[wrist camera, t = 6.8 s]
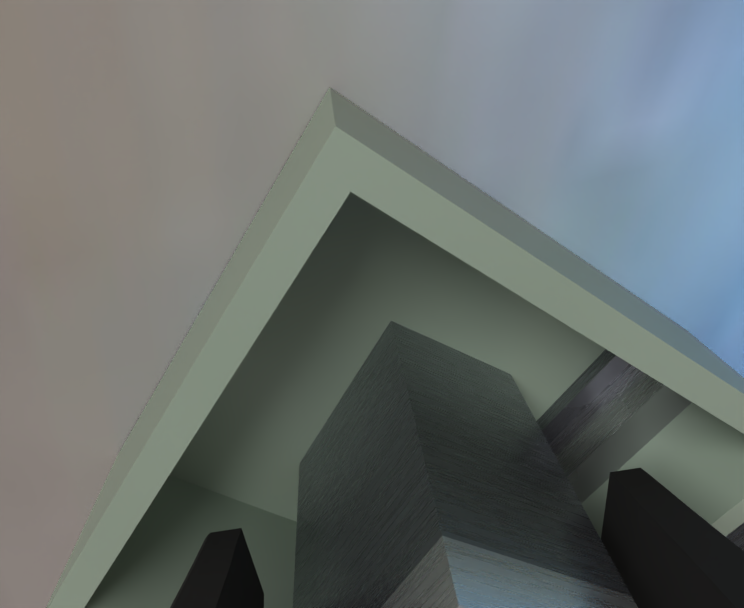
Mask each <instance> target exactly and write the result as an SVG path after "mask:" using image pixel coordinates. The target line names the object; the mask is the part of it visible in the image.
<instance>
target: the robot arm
mask: <svg viewBox="0 0 744 608" xmlns="http://www.w3.org/2000/svg"><path fill="white" fill-rule="evenodd" d="M601 541H602V543H603V544H604V546H605V548H606V550H607V552H608V554H609V555H610V557H611V559H612V561H613V563H614V565H615V566H616V568H617V570H618V572H619V574H620V576H621V577H622V579H623V581H624V583H625V585H626V587H627V588H628V590H629V592H630V594H631V596H632V598H633V600H634V601H635V603H636V605H637V607H638V608H744V551H743V550H742V549H741V548H739V547H738V546H737V545H736V544H734V543H733V542H732V541H730V540H729V539H728V538H727V537H725V536H724V535H723V534H722V533H720V532H719V531H718V530H717V529H715V528H714V527H713V526H712V525H710V524H709V523H708V522H707V521H706V520H704V519H703V518H702V517H701V516H699V515H698V514H697V513H696V512H694V511H693V510H692V509H691V508H690V507H688V506H687V505H686V504H685V503H683V502H682V501H681V500H680V499H679V498H677V497H676V496H675V495H674V494H673V493H671V492H670V491H669V490H668V489H667V488H665V487H664V486H663V485H662V484H660V483H659V482H658V481H657V480H656V479H654V478H653V477H652V476H651V475H649V474H648V473H647V472H646V471H644V470H643V469H642V468H634V469H628V470H621V471H614V472H610V475H609V483H608V490H607V497H606V505H605V512H604V519H603V527H602V534H601ZM170 608H264V592H263V589H262V586H261V583H260V580H259V577H258V575H257V572H256V569H255V566H254V563H253V560H252V557H251V554H250V551H249V548H248V546H247V543H246V540H245V537H244V534H243V531H242V528H237V529H231V530H224V531H218V532H211V533H209V534H208V535H207V537H206V538H205V540H204V542H203V544H202V546H201V548H200V550H199V552H198V554H197V556H196V558H195V560H194V562H193V564H192V566H191V568H190V570H189V572H188V574H187V576H186V578H185V580H184V582H183V584H182V586H181V588H180V590H179V591H178V593H177V595H176V597H175V599H174V601H173V603H172V605H171V606H170Z"/></svg>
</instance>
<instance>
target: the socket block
mask: <svg viewBox="0 0 744 608" xmlns="http://www.w3.org/2000/svg"><path fill="white" fill-rule="evenodd" d="M691 403H692V402H691V401H689V400H688V399H686V398H684V397H683V396H681V395H680V394H678V393H676V392H675V391H673V390H672V389H670V388H668V387H667V386H665V385H663V384H662V383H660V382H659V381H657V380H655V379H654V378H652V377H650V376H649V375H647V374H646V373H644V372H642V371H641V370H639V369H637V368H636V367H634V366H633V365H631V364H629V363H628V362H626V361H624V360H623V359H621V358H620V357H618V356H616V355H615V354H613V353H611V352H610V351H608V350H607V349H605V350H604V351H603V352H602V353H601V354H600V356H599V357H598V358H597V359H596V360H595V361H594V362H593V363H592V364H591V365H590V366H589V367H588V368H587V369H586V370H585V371H584V372H583V373H582V374H581V375H580V376H579V377H578V378H577V379H576V380H575V382H574V383H573V384H572V385H571V386H570V387H569V388H568V389H567V390H566V391H565V392H564V393H563V394H562V395H561V396H560V397H559V398H558V399H557V400H556V401H555V402H554V403H553V404H552V405H551V406H550V407H549V409H548V410H547V411H546V412H545V413H544V414H543V415H542V416H541V417H540V418H539V419H538V420H537V423H538V425H539V427H540V429H541V431H542V432H543V434H544V436H545V438H546V440H547V442H548V443H549V445H550V447H551V449H552V451H553V453H554V454H555V456H556V458H557V460H558V462H559V464H560V465H561V467H562V469H563V471H564V473H565V475H566V476H567V478H568V480H569V482H570V484H571V486H572V487H573V489H574V491H575V493H576V495H577V497H578V499H579V500H580V502H581V503H582V502H584V501H585V500H586V499H587V498H588V497H589V496H590V495H591V494H592V493H593V492H595V491H596V490H597V489H598V488H599V487H600V486H601V485H602V484H603V483H604V482H605V481H607V480H608V479H609V475H610V472H614V471H617V470H619V469H620V468H621V467H622V466H623V465H624V464H625V463H626V462H627V461H628V460H629V459H631V458H632V457H633V456H634V455H635V454H636V453H637V452H638V451H639V450H640V449H642V448H643V447H644V446H645V445H646V444H647V443H648V442H649V441H650V440H651V439H652V438H654V437H655V436H656V435H657V434H658V433H659V432H660V431H661V430H662V429H663V428H664V427H666V426H667V425H668V424H669V423H670V422H671V421H672V420H673V419H674V418H675V417H676V416H678V415H679V414H680V413H681V412H682V411H683V410H684V409H685V408H686V407H687V406H689V405H690V404H691ZM726 537H727V538H728V539H729V540H730V541H732V542H733V543H734V544H736V545H737V546H738V547H739V548H741V549H742V550H743V551H744V523H742V524H741V525H740V526H739V527H737V528H736V529H735V530H733V531H732V532H731V533H730V534H728V535H727V536H726Z"/></svg>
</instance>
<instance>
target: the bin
mask: <svg viewBox="0 0 744 608" xmlns="http://www.w3.org/2000/svg"><path fill="white" fill-rule="evenodd" d="M390 321H393V322H396V323H398V324H400V325H402V326H404V327H407V328H409V329H411V330H413V331H416V332H418V333H420V334H422V335H424V336H427V337H429V338H431V339H433V340H436V341H438V342H440V343H442V344H445V345H447V346H449V347H451V348H453V349H456V350H458V351H460V352H462V353H465V354H467V355H469V356H471V357H473V358H476V359H478V360H480V361H482V362H485V363H487V364H489V365H491V366H494V367H496V368H498V369H500V370H502V371H505V372H507V373H509V374H511V375H512V377H513V379H514V381H515V383H516V385H517V386H518V388H519V390H520V392H521V394H522V396H523V397H524V399H525V401H526V403H527V405H528V407H529V409H530V410H531V412H532V414H533V416H534V418H535V420H536V421H537V420H538V419H539V418H540V417H541V416H542V415H543V414H544V413H545V412H546V411H547V410H548V409H549V407H550V406H551V405H552V404H553V403H554V402H555V401H556V400H557V399H558V398H559V397H560V396H561V395H562V394H563V393H564V392H565V391H566V390H567V389H568V388H569V387H570V386H571V385H572V384H573V383H574V382H575V380H576V379H577V378H578V377H579V376H580V375H581V374H582V373H583V372H584V371H585V370H586V369H587V368H588V367H589V366H590V365H591V364H592V363H593V362H594V361H595V360H596V359H597V358H598V357H599V356H600V354H601V353H602V352H603V351H604V350H605V349H607V350H608V351H610V352H611V353H613V354H615V355H616V356H618V357H620V358H621V359H623V360H624V361H626V362H628V363H629V364H631V365H633V366H634V367H636V368H637V369H639V370H641V371H642V372H644V373H646V374H647V375H649V376H650V377H652V378H654V379H655V380H657V381H659V382H660V383H662V384H663V385H665V386H667V387H668V388H670V389H672V390H673V391H675V392H676V393H678V394H680V395H681V396H683V397H684V398H686V399H688V400H689V401H691V402H692V403H691V404H690V405H689V406H687V407H686V408H685V409H684V410H683V411H682V412H681V413H680V414H679V415H678V416H676V417H675V418H674V419H673V420H672V421H671V422H670V423H669V424H668V425H667V426H666V427H664V428H663V429H662V430H661V431H660V432H659V433H658V434H657V435H656V436H655V437H654V438H652V439H651V440H650V441H649V442H648V443H647V444H646V445H645V446H644V447H643V448H642V449H640V450H639V451H638V452H637V453H636V454H635V455H634V456H633V457H632V458H631V459H629V460H628V461H627V462H626V463H625V464H624V465H623V466H622V467H621V468H620V469H619V470H617V471H621V470H628V469H634V468H642V469H643V470H644V471H646V472H647V473H648V474H649V475H651V476H652V477H653V478H654V479H656V480H657V481H658V482H659V483H660V484H662V485H663V486H664V487H665V488H667V489H668V490H669V491H670V492H671V493H673V494H674V495H675V496H676V497H677V498H679V499H680V500H681V501H682V502H683V503H685V504H686V505H687V506H688V507H690V508H691V509H692V510H693V511H694V512H696V513H697V514H698V515H699V516H701V517H702V518H703V519H704V520H706V521H707V522H708V523H709V524H710V525H712V526H713V527H714V528H715V529H717V530H718V531H719V532H720V533H722V534H723V535H724V536H725V537H726V536H727V535H728V534H730V533H731V532H732V531H733V530H735V529H736V528H737V527H739V526H740V525H741V524H742V523H744V378H743V377H742V376H741V375H740V374H738V373H737V372H736V371H735V370H734V369H732V368H731V367H730V366H729V365H728V364H726V363H725V362H724V361H723V360H722V359H720V358H719V357H718V356H717V355H716V354H714V353H713V352H712V351H711V350H710V349H708V348H707V347H706V346H705V345H704V344H702V343H701V342H700V341H699V340H698V339H696V338H695V337H694V336H693V335H692V334H690V333H689V332H688V331H687V330H685V329H684V328H682V327H681V326H680V325H678V324H677V323H675V322H674V321H672V320H671V319H669V318H668V317H666V316H665V315H663V314H662V313H660V312H659V311H658V310H656V309H655V308H653V307H652V306H650V305H649V304H647V303H646V302H644V301H643V300H641V299H640V298H638V297H637V296H635V295H634V294H633V293H631V292H630V291H628V290H627V289H625V288H624V287H622V286H621V285H619V284H618V283H616V282H615V281H613V280H612V279H611V278H609V277H608V276H606V275H605V274H603V273H602V272H600V271H599V270H597V269H596V268H594V267H593V266H591V265H590V264H589V263H587V262H586V261H584V260H583V259H581V258H580V257H578V256H577V255H575V254H574V253H572V252H571V251H569V250H568V249H567V248H565V247H564V246H562V245H561V244H559V243H558V242H556V241H555V240H553V239H552V238H550V237H549V236H547V235H546V234H545V233H543V232H542V231H540V230H539V229H537V228H536V227H534V226H533V225H531V224H530V223H528V222H527V221H525V220H524V219H522V218H521V217H520V216H518V215H517V214H515V213H514V212H512V211H511V210H509V209H508V208H506V207H505V206H503V205H502V204H500V203H499V202H498V201H496V200H495V199H493V198H492V197H490V196H489V195H487V194H486V193H484V192H483V191H481V190H480V189H478V188H477V187H476V186H474V185H473V184H471V183H470V182H468V181H467V180H465V179H464V178H462V177H461V176H459V175H458V174H456V173H455V172H454V171H452V170H451V169H449V168H448V167H446V166H445V165H443V164H442V163H440V162H439V161H437V160H436V159H434V158H433V157H432V156H430V155H429V154H427V153H426V152H424V151H423V150H421V149H420V148H418V147H417V146H415V145H414V144H412V143H411V142H409V141H408V140H407V139H405V138H404V137H402V136H401V135H399V134H398V133H396V132H395V131H393V130H392V129H390V128H389V127H387V126H386V125H385V124H383V123H382V122H380V121H379V120H377V119H376V118H374V117H373V116H371V115H370V114H368V113H367V112H365V111H364V110H363V109H361V108H360V107H358V106H357V105H355V104H354V103H352V102H351V101H349V100H348V99H346V98H345V97H343V96H342V95H341V94H339V93H338V92H336V91H335V90H333V89H332V88H330V87H329V89H328V91H327V93H326V94H325V96H324V98H323V100H322V101H321V103H320V105H319V107H318V108H317V110H316V112H315V114H314V115H313V117H312V119H311V120H310V122H309V124H308V126H307V127H306V129H305V131H304V133H303V134H302V136H301V138H300V140H299V141H298V143H297V145H296V147H295V148H294V150H293V152H292V153H291V155H290V157H289V159H288V160H287V162H286V164H285V166H284V167H283V169H282V171H281V173H280V174H279V176H278V178H277V180H276V181H275V183H274V185H273V186H272V188H271V190H270V192H269V193H268V195H267V197H266V199H265V200H264V202H263V204H262V206H261V207H260V209H259V211H258V213H257V214H256V216H255V218H254V219H253V221H252V223H251V225H250V226H249V228H248V230H247V232H246V233H245V235H244V237H243V239H242V240H241V242H240V244H239V246H238V247H237V249H236V251H235V252H234V254H233V256H232V258H231V259H230V261H229V263H228V265H227V266H226V268H225V270H224V272H223V273H222V275H221V277H220V278H219V280H218V282H217V284H216V285H215V287H214V289H213V291H212V292H211V294H210V296H209V298H208V299H207V301H206V303H205V305H204V306H203V308H202V310H201V311H200V313H199V315H198V317H197V318H196V320H195V322H194V324H193V325H192V327H191V329H190V331H189V332H188V334H187V336H186V338H185V339H184V341H183V343H182V344H181V346H180V348H179V350H178V351H177V353H176V355H175V357H174V358H173V360H172V362H171V364H170V365H169V367H168V369H167V371H166V372H165V374H164V376H163V377H162V379H161V381H160V383H159V384H158V386H157V388H156V390H155V391H154V393H153V395H152V397H151V398H150V400H149V402H148V404H147V405H146V407H145V409H144V410H143V412H142V414H141V416H140V417H139V419H138V421H137V423H136V424H135V426H134V428H133V430H132V431H131V433H130V435H129V437H128V438H127V440H126V442H125V443H124V445H123V447H122V449H121V450H120V452H119V454H118V456H117V458H116V460H115V462H114V464H113V466H112V468H111V471H110V473H109V475H108V477H107V479H106V481H105V483H104V485H103V488H102V490H101V492H100V494H99V496H98V498H97V500H96V502H95V505H94V507H93V509H92V511H91V513H90V515H89V517H88V520H87V522H86V524H85V526H84V528H83V530H82V532H81V534H80V537H79V539H78V541H77V543H76V545H75V547H74V549H73V551H72V554H71V556H70V558H69V560H68V562H67V564H66V566H65V569H64V571H63V573H62V575H61V577H60V579H59V581H58V583H57V586H56V588H55V590H54V592H53V594H52V596H51V598H50V600H49V603H48V605H47V607H46V608H170V606H171V605H172V603H173V601H174V599H175V597H176V595H177V593H178V591H179V590H180V588H181V586H182V584H183V582H184V580H185V578H186V576H187V574H188V572H189V570H190V568H191V566H192V564H193V562H194V560H195V558H196V556H197V554H198V552H199V550H200V548H201V546H202V544H203V542H204V540H205V538H206V537H207V535H208V534H209V533H211V532H218V531H224V530H231V529H237V528H242V531H243V534H244V537H245V540H246V543H247V546H248V548H249V551H250V554H251V557H252V560H253V563H254V566H255V569H256V572H257V575H258V577H259V580H260V583H261V586H262V589H263V592H264V608H293V591H294V570H295V548H296V527H297V506H298V485H299V463H300V462H301V460H302V459H303V457H304V455H305V454H306V452H307V451H308V449H309V448H310V446H311V444H312V443H313V441H314V440H315V438H316V437H317V435H318V434H319V432H320V430H321V429H322V427H323V426H324V424H325V423H326V421H327V419H328V418H329V416H330V415H331V413H332V412H333V410H334V409H335V407H336V405H337V404H338V402H339V401H340V399H341V398H342V396H343V394H344V393H345V391H346V390H347V388H348V387H349V385H350V384H351V382H352V380H353V379H354V377H355V376H356V374H357V373H358V371H359V369H360V368H361V366H362V365H363V363H364V362H365V360H366V358H367V357H368V355H369V354H370V352H371V351H372V349H373V348H374V346H375V344H376V343H377V341H378V340H379V338H380V337H381V335H382V333H383V332H384V330H385V329H386V327H387V326H388V324H389V323H390ZM608 483H609V479H608V480H607V481H605V482H604V483H603V484H602V485H601V486H600V487H599V488H598V489H597V490H596V491H595V492H593V493H592V494H591V495H590V496H589V497H588V498H587V499H586V500H585V501H584V502H582V503H581V504H582V506H583V508H584V510H585V511H586V513H587V515H588V517H589V519H590V521H591V522H592V524H593V526H594V528H595V530H596V532H597V533H598V535H599V537H600V539H601V534H602V527H603V519H604V512H605V505H606V497H607V490H608Z"/></svg>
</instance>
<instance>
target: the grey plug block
mask: <svg viewBox="0 0 744 608" xmlns="http://www.w3.org/2000/svg"><path fill="white" fill-rule="evenodd" d="M293 608H638V607H637V605H636V603H635V601H634V600H633V598H632V596H631V594H630V592H629V590H628V588H627V587H626V585H625V583H624V581H623V579H622V577H621V576H620V574H619V572H618V570H617V568H616V566H615V565H614V563H613V561H612V559H611V557H610V555H609V554H608V552H607V550H606V548H605V546H604V544H603V543H602V541H601V539H600V537H599V535H598V533H597V532H596V530H595V528H594V526H593V524H592V522H591V521H590V519H589V517H588V515H587V513H586V511H585V510H584V508H583V506H582V504H581V502H580V500H579V499H578V497H577V495H576V493H575V491H574V489H573V487H572V486H571V484H570V482H569V480H568V478H567V476H566V475H565V473H564V471H563V469H562V467H561V465H560V464H559V462H558V460H557V458H556V456H555V454H554V453H553V451H552V449H551V447H550V445H549V443H548V442H547V440H546V438H545V436H544V434H543V432H542V431H541V429H540V427H539V425H538V423H537V421H536V420H535V418H534V416H533V414H532V412H531V410H530V409H529V407H528V405H527V403H526V401H525V399H524V397H523V396H522V394H521V392H520V390H519V388H518V386H517V385H516V383H515V381H514V379H513V377H512V375H511V374H509V373H507V372H505V371H502V370H500V369H498V368H496V367H494V366H491V365H489V364H487V363H485V362H482V361H480V360H478V359H476V358H473V357H471V356H469V355H467V354H465V353H462V352H460V351H458V350H456V349H453V348H451V347H449V346H447V345H445V344H442V343H440V342H438V341H436V340H433V339H431V338H429V337H427V336H424V335H422V334H420V333H418V332H416V331H413V330H411V329H409V328H407V327H404V326H402V325H400V324H398V323H396V322H393V321H390V323H389V324H388V326H387V327H386V329H385V330H384V332H383V333H382V335H381V337H380V338H379V340H378V341H377V343H376V344H375V346H374V348H373V349H372V351H371V352H370V354H369V355H368V357H367V358H366V360H365V362H364V363H363V365H362V366H361V368H360V369H359V371H358V373H357V374H356V376H355V377H354V379H353V380H352V382H351V384H350V385H349V387H348V388H347V390H346V391H345V393H344V394H343V396H342V398H341V399H340V401H339V402H338V404H337V405H336V407H335V409H334V410H333V412H332V413H331V415H330V416H329V418H328V419H327V421H326V423H325V424H324V426H323V427H322V429H321V430H320V432H319V434H318V435H317V437H316V438H315V440H314V441H313V443H312V444H311V446H310V448H309V449H308V451H307V452H306V454H305V455H304V457H303V459H302V460H301V462H300V463H299V485H298V506H297V527H296V548H295V570H294V591H293Z"/></svg>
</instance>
